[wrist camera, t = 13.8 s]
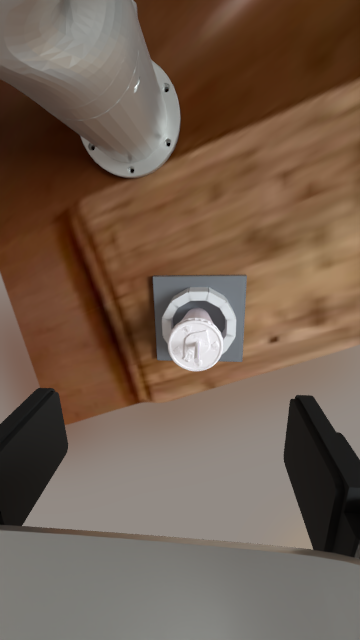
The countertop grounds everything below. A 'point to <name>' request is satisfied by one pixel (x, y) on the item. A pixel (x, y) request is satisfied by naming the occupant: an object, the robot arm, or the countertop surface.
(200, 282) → the holder
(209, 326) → the smoothie
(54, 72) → the robot arm
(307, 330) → the countertop surface
